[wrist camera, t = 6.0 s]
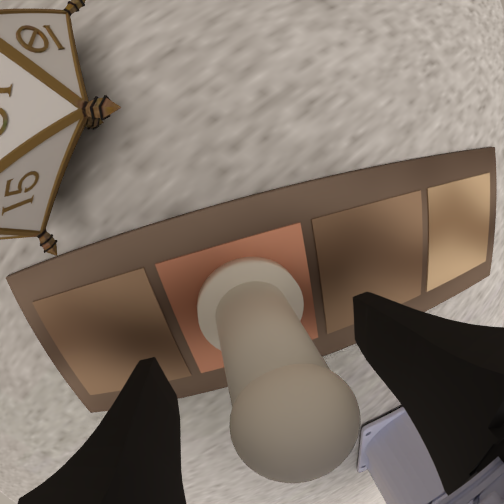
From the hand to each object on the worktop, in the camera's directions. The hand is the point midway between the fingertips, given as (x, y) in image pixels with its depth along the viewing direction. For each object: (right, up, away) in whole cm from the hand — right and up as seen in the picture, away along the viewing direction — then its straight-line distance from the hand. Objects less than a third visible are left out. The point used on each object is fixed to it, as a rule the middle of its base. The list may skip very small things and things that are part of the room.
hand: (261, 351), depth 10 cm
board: (+2, +2, +4) cm, 5 cm away
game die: (-9, +9, -1) cm, 12 cm away
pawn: (0, +1, +3) cm, 3 cm away
